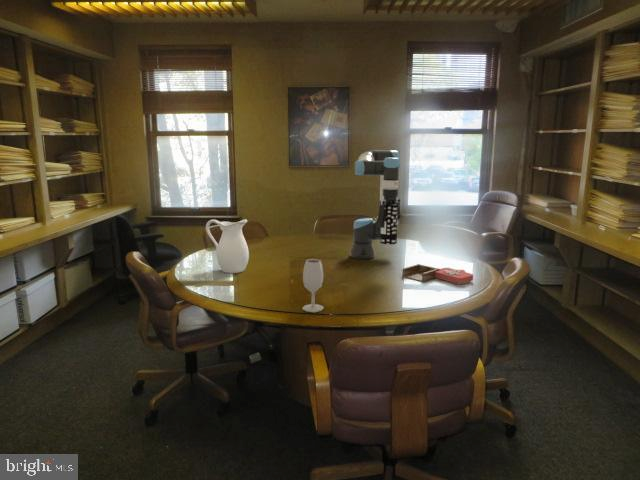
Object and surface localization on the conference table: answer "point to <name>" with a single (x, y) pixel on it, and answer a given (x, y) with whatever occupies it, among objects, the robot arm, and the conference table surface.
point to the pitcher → (231, 246)
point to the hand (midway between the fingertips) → (388, 232)
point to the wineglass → (313, 282)
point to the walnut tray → (419, 272)
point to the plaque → (454, 275)
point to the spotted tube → (390, 225)
